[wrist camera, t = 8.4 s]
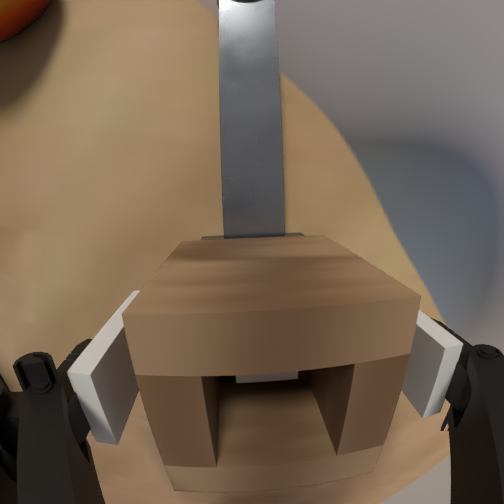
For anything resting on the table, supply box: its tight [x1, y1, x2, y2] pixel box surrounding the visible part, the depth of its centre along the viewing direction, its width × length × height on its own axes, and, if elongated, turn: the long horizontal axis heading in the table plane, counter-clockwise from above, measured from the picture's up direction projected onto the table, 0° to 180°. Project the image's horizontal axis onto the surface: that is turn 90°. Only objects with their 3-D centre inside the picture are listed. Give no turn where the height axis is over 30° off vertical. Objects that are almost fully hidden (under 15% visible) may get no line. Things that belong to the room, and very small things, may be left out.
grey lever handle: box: [201, 0, 304, 383], centre depth 12 cm, size 5×22×7 cm, turn 2°
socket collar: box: [122, 235, 421, 492], centre depth 10 cm, size 6×6×8 cm
